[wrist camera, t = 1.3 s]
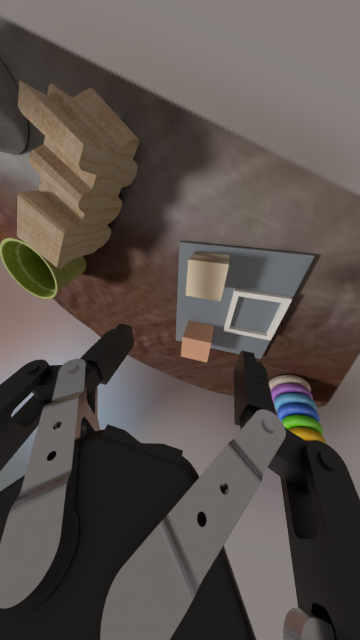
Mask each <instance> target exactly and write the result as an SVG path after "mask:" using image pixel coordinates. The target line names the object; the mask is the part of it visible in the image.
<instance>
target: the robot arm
mask: <svg viewBox="0 0 360 640" xmlns="http://www.w3.org/2000/svg"><path fill="white" fill-rule="evenodd" d="M18 95H19V92H18V89H17V87H16V85H15V83H14V81H13V79H12V77H11V76H10V74H9V72H8V71H7V69H6V68H5V66H4V64H3V63H2V62H1V61H0V151H1V152H5V153H9V154H19V153H22V151H23V150H24V149H25V147H26V145H27V141H28V123H27V118H26V117H25V116H24V115H23V114H22V113H21V111H20V109H19V107H18ZM133 344H134V338H133V332H132V327H131V326H129V325H124V324H120V325H118V326H117V327H116V329H112V330H110V331H108V332H106V333H105V334H104V335H103V336H102V337H101V339H99V340H98V341H97V343H95V344H94V345H93V346H92V347H91V348H90V349H89V350H88V351H87V352H86V353H85V354H84V355H83V356H82V357H81V358H80V359H73V360H70V361H68V362H66V363H65V364H64V365H53V366H49V364H48V363H47V362H46V361H45V360H35V361H32V362H30V363H28V364H26V365H25V366H23V367H22V368H21V369H19V370H18V371H17V372H16V373H15V374H13V375H12V376H11V377H9V378H8V379H7V380H6V381H5V382H3V383H2V384H1V385H0V471H1V469H2V468H3V467H4V466H5V465H6V463H7V462H8V461H9V460H10V459H11V457H12V456H13V455H14V454H15V452H16V451H17V450H18V449H19V448H20V447H21V445H22V444H23V443H24V442H25V440H26V439H27V438H28V437H29V436H30V434H31V433H32V432H33V431H34V430H35V429H36V427H37V426H38V429H37V433H36V437H35V440H34V444H33V448H32V451H31V456H30V459H29V463H28V467H27V470H26V474H25V475H24V476H23V477H21V478H20V479H18V480H17V481H15V482H14V483H12V484H11V485H9V486H8V487H6V488H5V489H4V490H2V491H0V640H256V637H255V634H254V632H253V629H252V626H251V623H250V620H249V617H248V614H247V612H246V609H245V606H244V603H243V600H242V597H241V594H240V591H239V588H238V585H237V583H236V580H235V577H234V574H233V571H232V568H231V565H230V562H229V559H228V557H227V554H226V551H225V548H224V544H225V542H226V540H227V539H228V537H229V535H230V534H231V532H232V530H233V529H234V527H235V525H236V524H237V522H238V520H239V519H240V517H241V515H242V514H243V512H244V510H245V509H246V507H247V505H248V504H249V502H250V500H251V499H252V497H253V495H254V494H255V492H256V491H257V489H258V487H259V485H260V483H261V481H262V475H263V473H264V471H265V470H266V468H267V467H268V468H269V469H271V470H272V471H274V472H275V473H276V474H278V475H279V476H280V477H281V483H282V491H283V498H284V506H285V513H286V521H287V528H288V535H289V543H290V550H291V557H292V565H293V572H294V579H295V587H296V594H297V600H298V608H292V609H291V610H289V612H288V613H287V615H286V617H285V621H284V628H283V629H284V630H283V639H284V640H360V499H359V497H358V495H357V492H356V490H355V487H354V484H353V482H352V479H351V477H350V474H349V472H348V469H347V467H346V465H345V463H344V461H343V460H342V458H341V457H340V456H339V455H338V454H337V452H336V451H335V450H333V449H332V448H331V447H330V446H328V445H327V444H325V443H323V442H321V441H317V440H313V441H310V442H307V441H306V440H304V439H302V438H301V437H299V436H297V435H296V434H294V433H292V432H291V431H289V430H288V429H287V428H286V427H285V426H284V425H283V423H282V422H281V420H280V419H279V418H278V417H277V415H276V413H275V409H274V404H273V400H272V395H271V390H270V386H269V381H268V376H267V372H266V369H265V368H264V366H263V365H262V363H260V362H256V361H255V355H254V353H252V352H247V351H243V350H242V351H241V352H240V355H239V357H238V360H237V362H236V365H235V369H234V408H235V424H236V425H239V426H240V427H241V430H240V431H239V433H238V434H237V435H236V436H235V437H234V439H233V440H232V441H230V443H228V445H227V446H226V447H225V448H224V449H223V450H222V452H221V453H220V454H219V455H218V456H217V457H216V459H215V460H214V461H213V463H211V464H210V466H209V467H208V468H207V469H206V470H205V471H204V473H203V474H202V475H201V476H200V477H199V475H198V474H197V472H196V470H195V469H194V467H193V466H192V465H191V463H190V462H189V461H188V460H187V459H185V458H184V457H183V456H182V452H183V451H182V450H179V449H177V448H174V447H171V446H168V445H165V444H143V443H140V442H139V441H137V440H136V439H135V438H134V437H132V436H131V435H130V434H129V433H127V432H126V431H125V430H122V429H119V428H116V427H114V426H111V425H107V427H106V428H105V430H100V428H99V422H98V417H97V394H98V392H97V386H98V385H99V384H100V383H102V384H105V385H106V384H107V383H108V381H109V380H110V378H111V377H112V376H113V374H114V373H115V371H116V370H117V369H118V367H119V366H120V364H121V363H122V361H123V360H124V359H125V357H126V356H127V355H128V353H129V352H130V350H131V349H132V347H133ZM31 392H32V393H33V394H34V395H33V396H32V398H30V399H29V400H28V401H27V402H26V403H25V404H24V405H23V407H22V408H21V409H20V410H19V411H18V412H17V413H16V414H15V415H14V416H13V417H12V418H11V414H12V412H13V410H14V409H15V408H16V407H17V406H18V405H19V404H20V403H21V402H22V401H23V400H24V399H25V398H26V397H27V396H28V395H29V394H30V393H31Z"/></svg>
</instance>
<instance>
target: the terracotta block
mask: <svg viewBox="0 0 360 640" xmlns="http://www.w3.org/2000/svg"><path fill="white" fill-rule="evenodd" d="M213 329H214V326H213V325H208V324H203V323H198V322H193V321H188V324H187V326H186V329H185V332H184V334H183V337H182V350H181V356H182V357H186V358H190V359H194V360H199V361H203V362H207V360H208V356H209V351H210V347H211V342H212V335H213Z"/></svg>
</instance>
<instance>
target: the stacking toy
mask: <svg viewBox="0 0 360 640" xmlns="http://www.w3.org/2000/svg"><path fill="white" fill-rule="evenodd" d="M269 386H270V390H271V395H272V400H273V402H274V406H275V408H276V410H277V411H278V417H279V419H280V420H281V422H282V423H283V425H284V426H285V427H286V428H287V429H288V430H289V431H291V432H292V433H294V434H296V435H297V436H299V437H301V438H302V439H304V440H306V441H307V442H310V441H313V440H317V441H321V442H323V443H325V440H324V438H323V436H322V433H323V429H322V427H321V425H320V423H319V420H320V419H319V415H318V414H317V412H316V410H317V408H316V404H315V403H314V401H313V397H312V394H311V387H310V385H309V383H308V382H307V381H306V380H304V379H303V378H301V377H298V376H295V375H281V376H277V377H274V378H273V379H271V380H270V381H269ZM325 444H326V443H325Z"/></svg>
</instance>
